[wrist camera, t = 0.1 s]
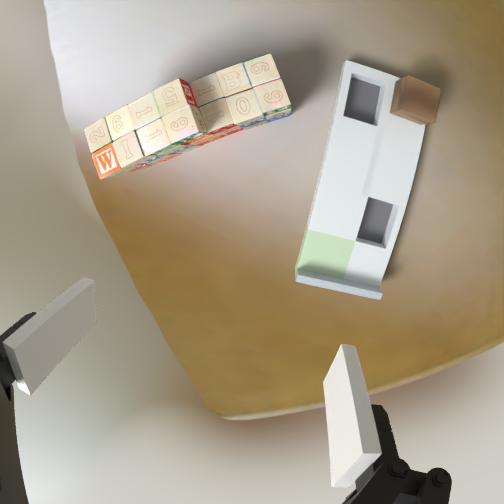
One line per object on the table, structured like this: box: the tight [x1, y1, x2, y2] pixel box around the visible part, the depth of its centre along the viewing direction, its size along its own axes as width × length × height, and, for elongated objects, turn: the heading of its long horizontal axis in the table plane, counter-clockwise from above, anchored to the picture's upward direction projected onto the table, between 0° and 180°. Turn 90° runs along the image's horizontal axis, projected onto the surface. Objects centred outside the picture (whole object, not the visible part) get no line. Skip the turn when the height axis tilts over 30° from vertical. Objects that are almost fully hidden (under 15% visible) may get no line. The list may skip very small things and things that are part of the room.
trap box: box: [295, 60, 426, 300], centre depth 35 cm, size 29×12×4 cm, turn 168°
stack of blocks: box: [84, 54, 291, 179], centre depth 32 cm, size 21×6×12 cm, turn 108°
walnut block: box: [390, 75, 441, 125], centre depth 29 cm, size 4×4×4 cm
